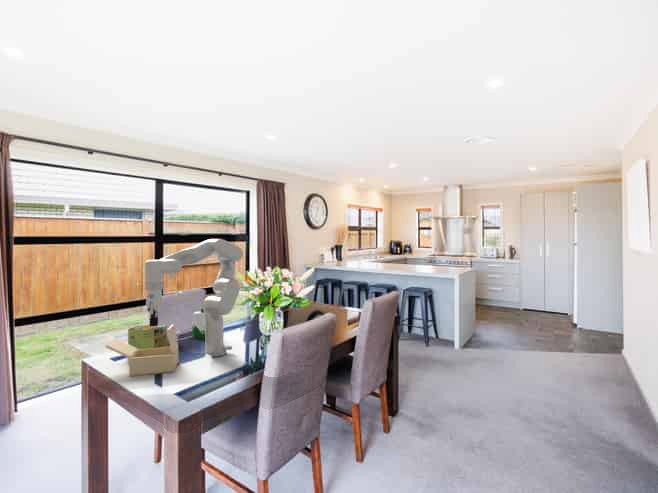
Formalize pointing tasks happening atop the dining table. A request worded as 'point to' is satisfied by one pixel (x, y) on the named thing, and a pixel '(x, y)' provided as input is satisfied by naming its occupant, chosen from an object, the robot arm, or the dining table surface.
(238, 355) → the dining table surface
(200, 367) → the dining table surface
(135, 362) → the carton
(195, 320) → the milk carton
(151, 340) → the protein box
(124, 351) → the flap
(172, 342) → the flap
